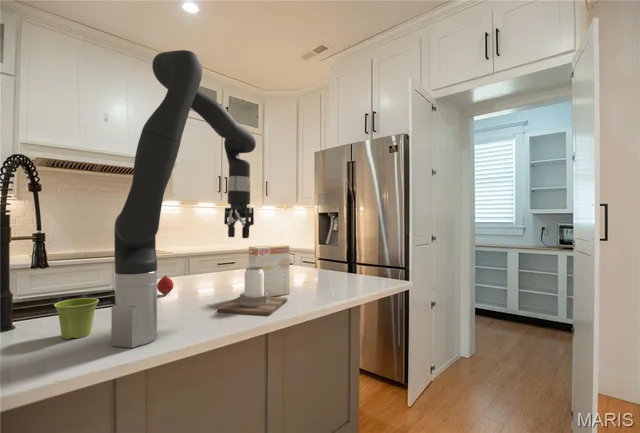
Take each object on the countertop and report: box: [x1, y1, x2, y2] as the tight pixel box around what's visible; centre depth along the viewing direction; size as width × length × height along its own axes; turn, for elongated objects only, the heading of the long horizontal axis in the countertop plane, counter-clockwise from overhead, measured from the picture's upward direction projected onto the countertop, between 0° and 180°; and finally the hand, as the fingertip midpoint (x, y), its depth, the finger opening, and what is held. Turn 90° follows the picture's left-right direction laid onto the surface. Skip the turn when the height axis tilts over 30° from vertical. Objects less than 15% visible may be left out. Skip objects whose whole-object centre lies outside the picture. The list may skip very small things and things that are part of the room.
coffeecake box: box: [248, 244, 290, 297], centre depth 132 cm, size 15×7×20 cm, turn 126°
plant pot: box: [53, 297, 100, 340], centre depth 87 cm, size 9×9×9 cm
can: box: [244, 266, 264, 297], centre depth 115 cm, size 6×6×12 cm
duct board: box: [216, 291, 288, 316], centre depth 115 cm, size 18×18×4 cm
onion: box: [157, 274, 174, 296], centre depth 131 cm, size 6×6×8 cm
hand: (238, 237), depth 114 cm, fingers open, 8 cm apart
